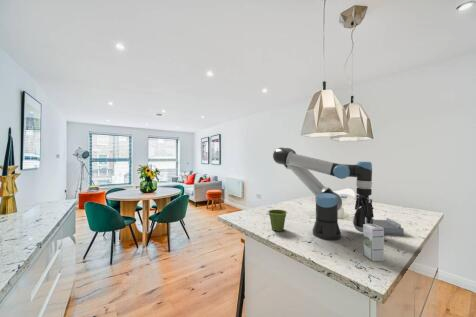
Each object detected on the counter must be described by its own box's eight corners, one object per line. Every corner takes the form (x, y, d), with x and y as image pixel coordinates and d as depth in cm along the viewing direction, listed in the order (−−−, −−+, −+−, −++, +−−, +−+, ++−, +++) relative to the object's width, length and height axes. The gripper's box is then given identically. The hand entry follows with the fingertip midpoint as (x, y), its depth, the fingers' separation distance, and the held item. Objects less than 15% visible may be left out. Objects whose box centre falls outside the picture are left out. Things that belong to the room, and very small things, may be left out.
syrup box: (384, 261, 85) (384, 227, 85) (372, 261, 85) (371, 228, 85) (374, 254, 91) (374, 223, 91) (362, 255, 91) (362, 223, 91)
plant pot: (285, 226, 129) (285, 209, 129) (288, 233, 117) (288, 214, 117) (267, 226, 130) (267, 208, 130) (268, 232, 118) (268, 213, 118)
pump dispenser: (377, 235, 110) (377, 208, 109) (356, 233, 112) (357, 206, 112) (369, 228, 120) (369, 203, 119) (350, 227, 122) (350, 202, 122)
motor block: (373, 233, 116) (373, 224, 116) (358, 223, 136) (358, 214, 136) (403, 235, 114) (403, 225, 114) (383, 224, 134) (383, 215, 134)
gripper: (382, 191, 104) (381, 233, 104) (361, 185, 126) (361, 219, 126) (366, 190, 105) (365, 232, 105) (349, 184, 127) (348, 219, 127)
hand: (363, 225), depth 116 cm, fingers closed on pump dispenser, 10 cm apart
